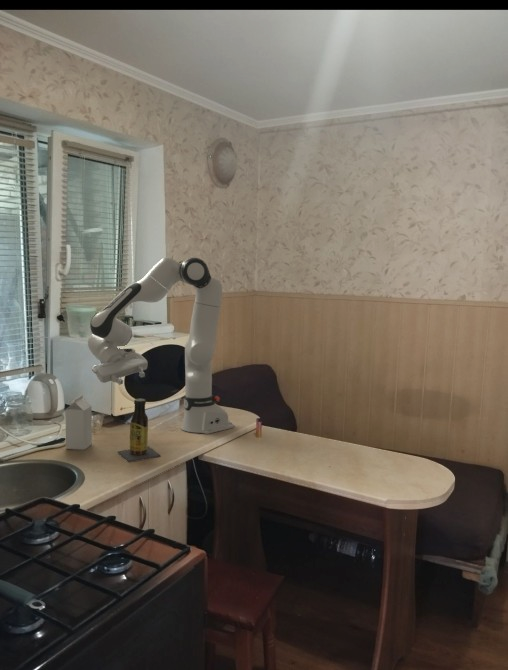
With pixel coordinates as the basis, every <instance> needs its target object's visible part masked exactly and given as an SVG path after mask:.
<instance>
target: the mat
mask: <svg viewBox="0 0 508 670" xmlns="http://www.w3.org/2000/svg"><path fill="white" fill-rule="evenodd" d="M117 455H121V456H120V457H121V458H123V459H124V460H125V459H126V460H127V461H126V460H125V461H126V462H128V463H133V462H136V461H137V460H138V461H142V460H143V459H144V460H148V459H154V458H160V457H161V454H160V453H159V452H158V451H156V450H155V449H153V448H152V447H150V446H149V445H147V452H146V453H145V454H142V455H133V454H131V453H130V448H128V449H122V450H117ZM144 460H143V461H144ZM132 461H133V462H132ZM138 461H137V462H138Z"/></svg>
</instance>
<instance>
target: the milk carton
mask: <svg viewBox="0 0 508 670" xmlns="http://www.w3.org/2000/svg"><path fill="white" fill-rule="evenodd" d="M69 404H70V405H69V406H68V407H67V408H65V410H64V411H65V449H66V450H80V451H82V450H83V451H86V449H88V448H89V447H90V446H91V445H92V443H93V442H92V441H93V438H92V437H93V435H92V434H93V432H92V431H93V428H92V426H93V423H92V417H93V416H92V412H93V411H92V405H91V404H90V403H89V402H88V401H87V400H86V399H84V396H83V394H81V395H80V396H77V397H76V398H75V399H73V400H71V401H70V402H69Z"/></svg>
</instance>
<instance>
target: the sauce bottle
mask: <svg viewBox="0 0 508 670" xmlns="http://www.w3.org/2000/svg"><path fill="white" fill-rule="evenodd" d="M133 403H134V409H133V410H134V411H133V414H132V417H131V419H130V424H129V425H130V427H129V430H130V431H129V449H130V453H131V454H133V455H142V454H145V453H146V452H147V446H148V435H149V434H148V433H149V418H148V417H149V416H148V415H147V413H146V404H147V399H145V398H140V397H139V398H135V399H134V401H133Z"/></svg>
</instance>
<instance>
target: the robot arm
mask: <svg viewBox="0 0 508 670" xmlns="http://www.w3.org/2000/svg"><path fill="white" fill-rule="evenodd" d="M178 282H183V283H185V284H188V285H190V286H193V287H194V288H195V297H194V298H195V299H194V303H193V308H192V313H191V318H190V319H191V320H190V327H189V336H188V339H187V340H186V342H185V344H184V345H185V346H184V365H185V366H184V369H185V372H184V373H185V387H184V389H185V395H184V398H183V407H184V411H183V420H182V423H181V426H180V428H181V430H183V431H185V432H188V433H197V434H198V433H199V434H206V435H207V434H208V435H209V434H213V433H216V432H220V431H225V430H228V429H233V428H234V423H233V422H231V421H230V420H229V416H228V412H227V411H226V410H225V409H223V408H222V407H221V406H220V405H218V404H217V403H216V402H218V403H219V402H220V397H219V396H218V395H213V394H212V393H213V390H212V389H213V388H212V387H213V386H212V385H213V376H212V375H213V373H212V360H213V359H214V356H215V355H214V354H215V349H216V348H215V347H216V341H217V332H218V323H219V318H220V312H221V307H222V301H223V284H222V283H221V281H220V280H218V279H217V278H215V277H212V276H211V273H210V270H209V268H208V265H207V263H206V261H204V260H203V259H202V258H198V257H188V258H186V259H183V260H182V261H179V262H177V261H176V260H175V259H173V258H170V257H163V258H161V260H159V261H158V262H157V263H156V264H155V265H153V266H152V268H150V270H149V271H148V272H147V274H146V275H144V277H142V278H141V279H140V280H138V281H137V282H132V283H130V284H128V286H126V287H125V288H124V289H123V290H122V291H120V293H119V294H117V296H115V297H114V298H113V299H112V300H111V301H110V302H109V303H108V304H107V305H106V306H105V307H104V308H102V309H101V310H99V311H98V312H96V313H95V314H94V315H93V316H92V317H91V319H90V323H89V324H90V325H89V326H90V327H89V328H90V331H91V333H92V334H91V335H90V336H89V338H88V340H87V347H88V349H89V350H90V352H91V354H92V355H93V356H94V357H95V358H96V359H97V360H99V362H100V363H99V364H95V365H93V367H92V368H91V371H92V372H93V374H95V376H96V377H97V379H98V380H99V382H100V383H103V384H104V383H105V384H106V383H108V382H113V383H116V384H118V385H119V386H120V385H123V384H124V380H123V379H122V378H124V377H127V376H130V375H132V374H136V373H139V374H138V376H139V377H140V378H145V377H146V373H145V372H144V371H146V370H147V369H148V360H147V359H146V358H145V357H144V356H143V355H142V354H140V353H138V352H136V349H134V348H133V347H132V348H123V349H120V348H119V349H118V348H117V346H125V345H126V346H127V345H128V344H129V343H130V341H131V339H132V336H133V330H132V327H131V326H130V325H129V324H127V323H125V322H124V321H122V320H121V319H119V318H117V317H119V315H121V313H123V311H124V310H126V309H127V308H128V307H129V306H130V305H131V304H133V303H136V302H143V303H145V302H146V303H157V302H159V301H162V299H164V298H165V296H166V295H168V293H169V291H170V290H171V289H172V288H173V287H174V285H176V283H178ZM126 346H125V347H126Z"/></svg>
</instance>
